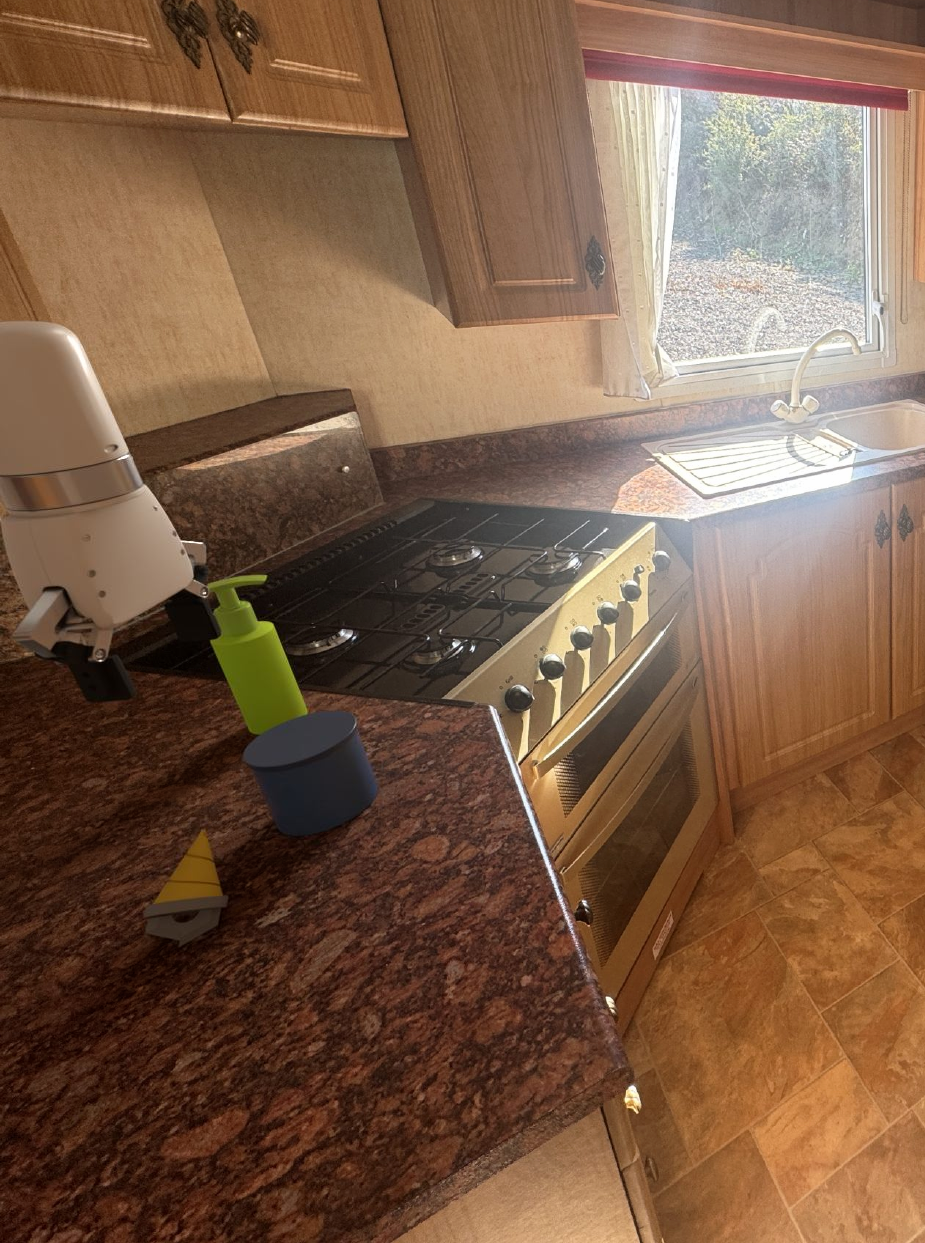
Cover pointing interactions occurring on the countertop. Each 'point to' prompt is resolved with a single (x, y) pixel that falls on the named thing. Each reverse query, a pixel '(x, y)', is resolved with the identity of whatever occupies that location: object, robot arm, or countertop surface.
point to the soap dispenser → (254, 660)
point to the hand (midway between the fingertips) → (160, 667)
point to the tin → (312, 772)
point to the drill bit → (188, 896)
